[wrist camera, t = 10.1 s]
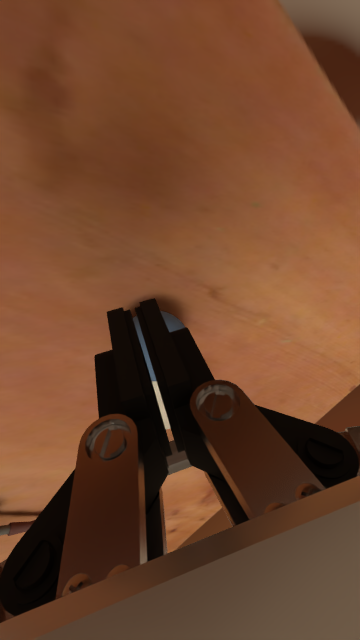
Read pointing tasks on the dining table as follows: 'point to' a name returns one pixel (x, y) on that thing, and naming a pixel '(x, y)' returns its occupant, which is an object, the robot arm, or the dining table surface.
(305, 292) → the dining table surface
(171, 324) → the ball
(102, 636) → the robot arm
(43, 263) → the dining table surface
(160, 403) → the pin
